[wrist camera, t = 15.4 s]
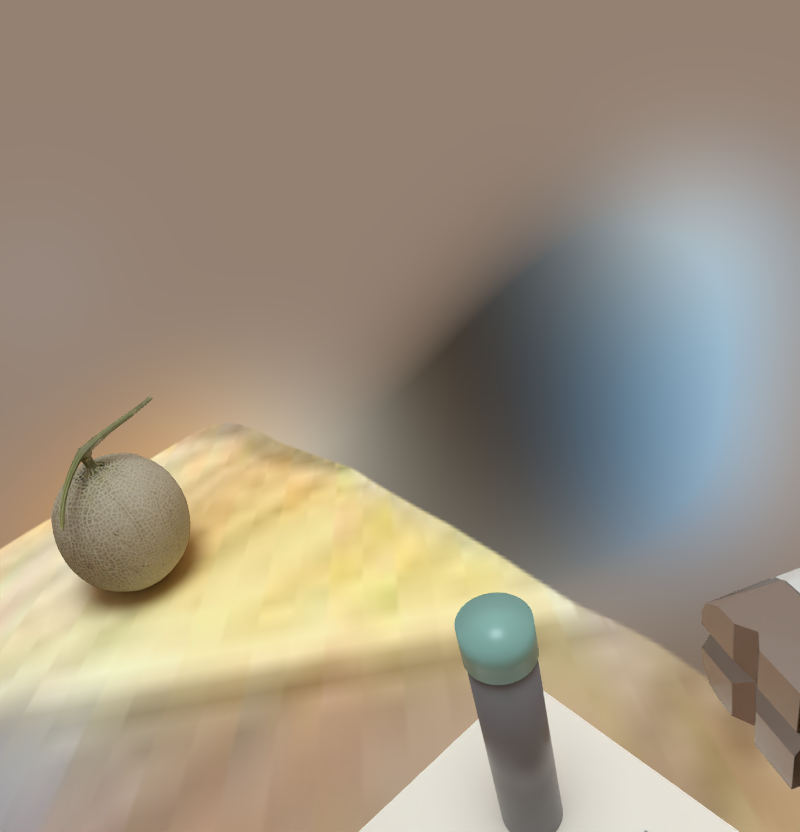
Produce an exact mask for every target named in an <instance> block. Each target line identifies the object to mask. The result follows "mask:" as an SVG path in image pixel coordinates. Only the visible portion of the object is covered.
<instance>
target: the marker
mask: <svg viewBox="0 0 800 832" xmlns="http://www.w3.org/2000/svg"><path fill="white" fill-rule="evenodd" d="M455 631H456V636H457V640H458V644H459V648H460V652H461V656H462V661H463V664H464V667H465V669H466V670H467V672H468V676H469V680H470V684H471V689H472V693H473V697H474V701H475V706H476V710H477V714H478V718H479V722H480V727H481V731H482V735H483V739H484V743H485V748H486V752H487V756H488V760H489V764H490V769H491V773H492V777H493V781H494V786H495V790H496V794H497V798H498V802H499V807H500V811H501V815H502V819H503V822H504V824H505V826H506V828H507V829H508V830H509V831H510V832H556V831H557V830H558V828H559V826H560V824H561V822H562V818H563V808H562V802H561V796H560V790H559V784H558V778H557V772H556V766H555V760H554V754H553V748H552V742H551V736H550V730H549V724H548V718H547V712H546V706H545V700H544V693H543V687H542V681H541V675H540V669H539V663H538V656H539V649H538V643H537V637H536V631H535V625H534V619H533V614H532V611H531V609H530V607H529V606H528V605H527V604H526V603H525V602H524V601H523V600H522V599H520V598H518V597H516V596H514V595H511V594H507V593H488V594H483V595H480V596H478V597H475V598H473V599H472V600H470V601H469V602H467V603H466V604H465V605H464V606H463V607H462V608H461V609H460V611H459V612H458V614H457V616H456V619H455Z"/></svg>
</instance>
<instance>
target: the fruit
mask: <svg viewBox="0 0 800 832" xmlns="http://www.w3.org/2000/svg"><path fill="white" fill-rule="evenodd" d="M151 400H152V397H151V396H149V397H148V398H147V399H146V400H144V401H143V402H142V403H141V404H139V405H138V406H137V407H135V408H134V409H133V410H131V411H130V412H128V413H127V414H125V415H124V416H123V417H121V418H120V419H118V420H117V421H115V422H114V423H112V424H111V425H110V426H108V427H107V428H106V429H104V430H103V431H101V432H100V433H99V434H97V435H96V436H95V437H93V438H92V439H91V440H90V441H88V442H87V443H86V444H85V445H84V446H83V447H81V448H79V449H78V452H77V453H76V456H75V458H74V460H73V462H72V464H71V467H70V469H69V472H68V474H67V477H66V480H65V483H64V485H63V486H62V488H61V489H60V491H59V493H58V496H57V497H56V499H55V502H54V506H53V510H52V519H51V520H52V528H53V534H54V537H55V542H56V544H57V547H58V549H59V551H60V553H61V555H62V557H63V558H64V560H65V562H66V563H67V564H68V566H69V567H70V568H71V569H72V570H73V571H74V572H75V573H76V574H77V575H78V576H79V577H80V578H82V579H83V580H85V581H86V582H88V583H89V584H91V585H93V586H95V587H98V588H100V589H103V590H108V591H121V592H129V591H138V590H142V589H145V588H148V587H150V586H152V585H154V584H155V583H157V582H159V581H161V580H162V579H163V578H164V577H165V576H166V575H167V574H169V573H170V572H171V571H172V569H173V568H174V567H175V566H176V564H177V563H178V562H179V560H180V559H181V558H182V556H183V554H184V552H185V550H186V547H187V544H188V541H189V536H190V515H189V509H188V505H187V501H186V498H185V496H184V494H183V492H182V490H181V488H180V487H179V485H178V484H177V482H176V481H175V479H174V478H173V477H172V476H171V475H170V473H169V472H168V471H166V470H165V469H164V468H163V467H162V466H160V465H159V464H157V463H156V462H154V461H152V460H150V459H147V458H144V457H142V456H139V455H137V454H131V453H119V454H109V455H104V456H101V457H98V458H96V459H94V460H93V459H92V457H91V455H92V450H93V449H94V448H95V447H96V446H97V445H98V444H99V443H100V442H101V441H102V440H103V439H104V438H105V437H106V436H107V435H108V434H110V433H111V432H112V431H113V430H115V429H116V428H117V427H118V426H120V425H121V424H122V423H124V422H125V421H127V420H128V419H129V418H130V417H132V416H133V415H134V414H135V413H137V412H138V411H139V410H140V409H141V408H142V407H144V406H145V405H146V404H147V403H148V402H149V401H151ZM81 461H82V462H83V464H82V465H81V466H80V467H79V468H78V469H77V467H78V465H79V463H80V462H81Z"/></svg>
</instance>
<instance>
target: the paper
mask: <svg viewBox="0 0 800 832" xmlns="http://www.w3.org/2000/svg"><path fill="white" fill-rule="evenodd" d="M543 693H544V700H545V706H546V712H547V718H548V724H549V730H550V736H551V742H552V748H553V754H554V760H555V766H556V772H557V778H558V784H559V790H560V796H561V802H562V808H563V818H562V822H561V824H560V826H559V828H558V830H557V831H556V832H739V831H737V830H736V829H735V828H733V827H732V826H731V825H729V824H728V823H726V822H725V821H724V820H722V819H721V818H719V817H718V816H717V815H715V814H714V813H712V812H711V811H710V810H708V809H707V808H706V807H704V806H703V805H701V804H700V803H699V802H697V801H696V800H694V799H693V798H692V797H690V796H689V795H687V794H686V793H685V792H683V791H682V790H681V789H679V788H678V787H676V786H675V785H674V784H672V783H671V782H669V781H668V780H667V779H665V778H664V777H662V776H661V775H660V774H658V773H657V772H656V771H654V770H653V769H651V768H650V767H649V766H647V765H646V764H644V763H643V762H642V761H640V760H639V759H637V758H636V757H635V756H633V755H632V754H631V753H629V752H628V751H626V750H625V749H624V748H622V747H621V746H619V745H618V744H617V743H615V742H614V741H613V740H611V739H610V738H608V737H607V736H606V735H604V734H603V733H601V732H600V731H599V730H597V729H596V728H594V727H593V726H592V725H590V724H589V723H588V722H586V721H585V720H583V719H582V718H581V717H579V716H578V715H576V714H575V713H574V712H572V711H571V710H569V709H568V708H567V707H565V706H564V705H563V704H561V703H560V702H558V701H557V700H556V699H554V698H553V697H551V696H550V695H549V694H547V693H546V692H544V691H543ZM359 832H510V831H509V830H508V829H507V828H506V826H505V824H504V822H503V819H502V815H501V811H500V807H499V802H498V798H497V794H496V790H495V786H494V781H493V777H492V773H491V769H490V764H489V760H488V756H487V752H486V748H485V743H484V739H483V735H482V731H481V727H480V722H479V719H478V720H477V721H476V722H474V723H473V724H472V725H471V726H470V727H469V728H468V729H467V730H466V731H465V732H464V733H463V734H462V735H461V736H460V737H459V738H458V739H456V740H455V741H454V742H453V743H452V744H451V745H450V746H449V747H448V748H447V749H446V750H445V751H444V752H443V753H442V754H441V755H440V756H438V757H437V758H436V759H435V760H434V761H433V762H432V763H431V764H430V765H429V766H428V767H427V768H426V769H425V770H424V771H423V772H422V773H420V774H419V775H418V776H417V777H416V778H415V779H414V780H413V781H412V782H411V783H410V784H409V785H408V786H407V787H406V788H405V789H403V790H402V791H401V792H400V793H399V794H398V795H397V796H396V797H395V798H394V799H393V800H392V801H391V802H390V803H389V804H388V805H387V806H385V807H384V808H383V809H382V810H381V811H380V812H379V813H378V814H377V815H376V816H375V817H374V818H373V819H372V820H371V821H370V822H369V823H367V824H366V825H365V826H364V827H363V828H362V829H361V830H360V831H359Z"/></svg>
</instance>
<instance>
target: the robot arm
mask: <svg viewBox="0 0 800 832" xmlns="http://www.w3.org/2000/svg"><path fill="white" fill-rule="evenodd" d="M702 625H703V626H704V627H705V628H706V629H707V631H708V632H709V633H710V635H709V637H708V638H707V640H706V642H705V643H704V645H703V646H702V658H703V666H704V669H705V672H706V675H707V677H708V680H709V683H710V685H711V687H712V688H713V690H714V692H715V693H716V695H717V697H718V698H719V700H720V701H721V702H722V704H723V705H724V706H725V708H726V709H727V710H728V711H729V713H730V714H731V715H732V716H734V717H736V718H738V719H740V720H743V721H745V722H747V723H749V724H751V725H754V739H755V745H756V746H757V748H758V749H759V750H760V751H761V753H762V754H763V755H764V756H765V758H766V759H767V760H768V761H769V762H770V764H771V765H772V766H773V767H774V769H775V770H776V771H777V772H778V774H779V775H780V776H781V777H782V778H783V780H784V781H785V782H786V783H787V785H788V786H789V787H790V788H791V789H794V788H797V787H799V786H800V568H797V569H795V570H792V571H790V572H787V573H785V574H782V575H780V576H777V577H774V578H772V579H771V578H769V579H766V580H764V581H761V582H758V583H756V584H753V585H751V586H748V587H746V588H743V589H741V590H738V591H735V592H733V593H730V594H728V595H725V596H723V597H720V598H718V599H715V600H713V601H710V602H708V603H706V604H705V606H704V607H703V609H702Z"/></svg>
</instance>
